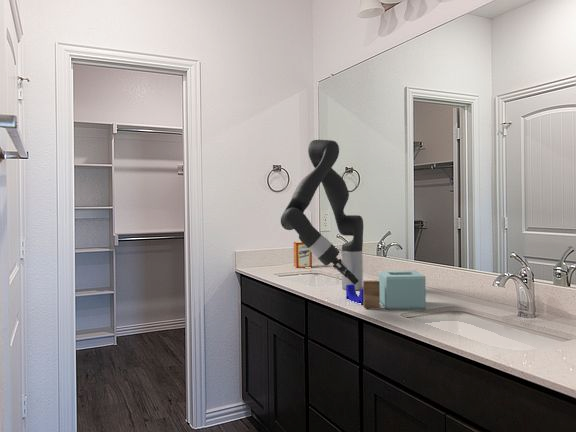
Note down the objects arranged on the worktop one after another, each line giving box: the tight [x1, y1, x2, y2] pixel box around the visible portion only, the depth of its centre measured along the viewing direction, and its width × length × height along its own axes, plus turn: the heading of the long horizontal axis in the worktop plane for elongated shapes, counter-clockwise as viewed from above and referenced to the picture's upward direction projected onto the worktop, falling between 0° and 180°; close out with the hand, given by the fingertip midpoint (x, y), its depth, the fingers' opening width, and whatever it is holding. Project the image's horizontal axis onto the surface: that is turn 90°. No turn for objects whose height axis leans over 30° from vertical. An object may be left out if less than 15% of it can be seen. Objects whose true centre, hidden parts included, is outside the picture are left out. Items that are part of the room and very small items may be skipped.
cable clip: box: [345, 284, 363, 304], centre depth 177 cm, size 12×4×6 cm, turn 22°
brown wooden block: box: [362, 279, 381, 309], centre depth 165 cm, size 3×6×10 cm, turn 89°
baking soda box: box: [293, 240, 313, 269], centre depth 274 cm, size 10×6×16 cm
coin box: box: [378, 270, 427, 311], centre depth 169 cm, size 14×14×12 cm
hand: (355, 280), depth 165 cm, fingers open, 8 cm apart
